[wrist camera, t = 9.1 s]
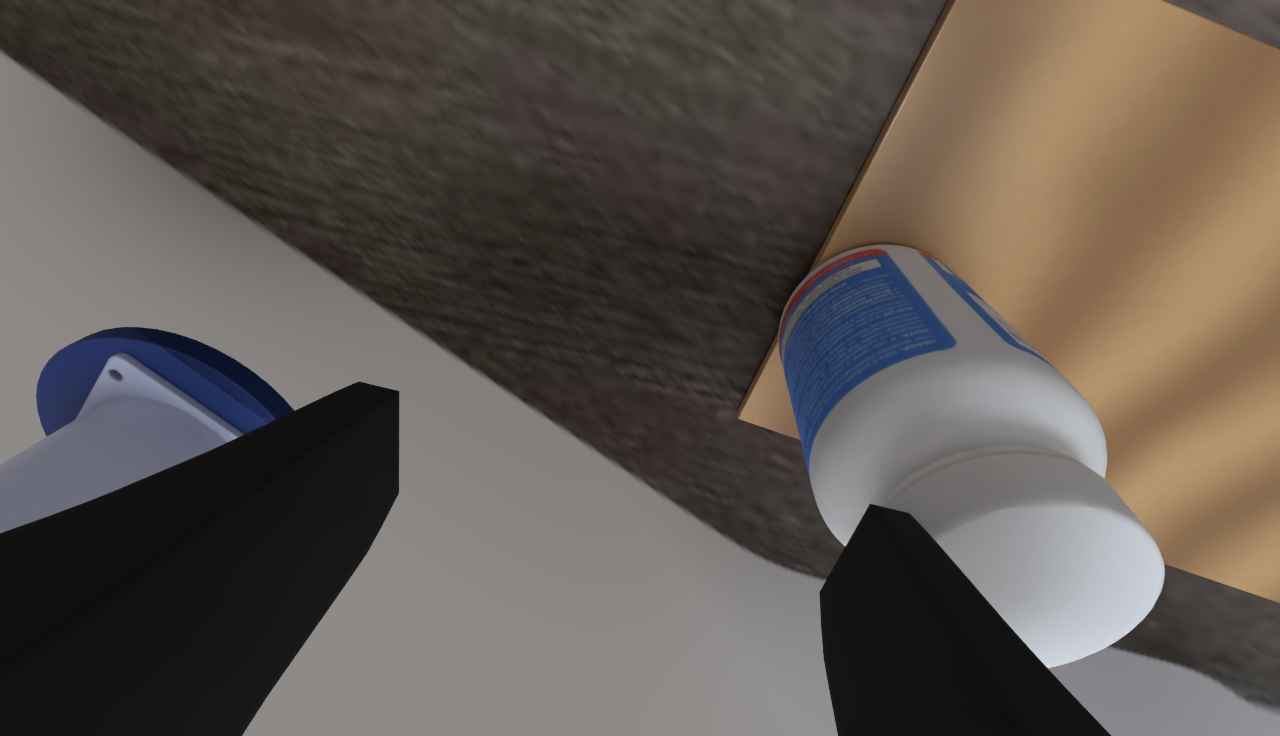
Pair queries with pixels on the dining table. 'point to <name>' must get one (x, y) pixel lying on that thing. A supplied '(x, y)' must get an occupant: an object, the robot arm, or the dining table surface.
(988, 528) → the pill bottle
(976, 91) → the mat
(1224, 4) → the dining table surface
